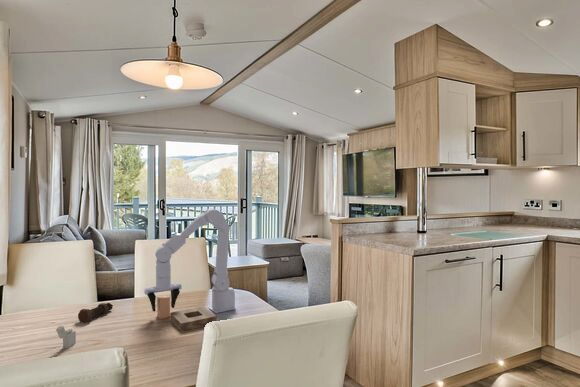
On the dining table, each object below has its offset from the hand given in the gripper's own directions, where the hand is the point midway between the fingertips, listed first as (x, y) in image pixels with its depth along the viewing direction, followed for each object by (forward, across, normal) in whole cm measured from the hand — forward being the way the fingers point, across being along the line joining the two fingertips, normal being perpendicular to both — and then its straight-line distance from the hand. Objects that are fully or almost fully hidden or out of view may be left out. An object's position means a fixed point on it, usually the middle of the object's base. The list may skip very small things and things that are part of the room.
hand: (163, 308), depth 153 cm
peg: (+3, 0, 0) cm, 3 cm away
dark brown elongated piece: (+4, +22, -15) cm, 28 cm away
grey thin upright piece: (+3, +35, +12) cm, 37 cm away
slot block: (+3, -8, +13) cm, 16 cm away
